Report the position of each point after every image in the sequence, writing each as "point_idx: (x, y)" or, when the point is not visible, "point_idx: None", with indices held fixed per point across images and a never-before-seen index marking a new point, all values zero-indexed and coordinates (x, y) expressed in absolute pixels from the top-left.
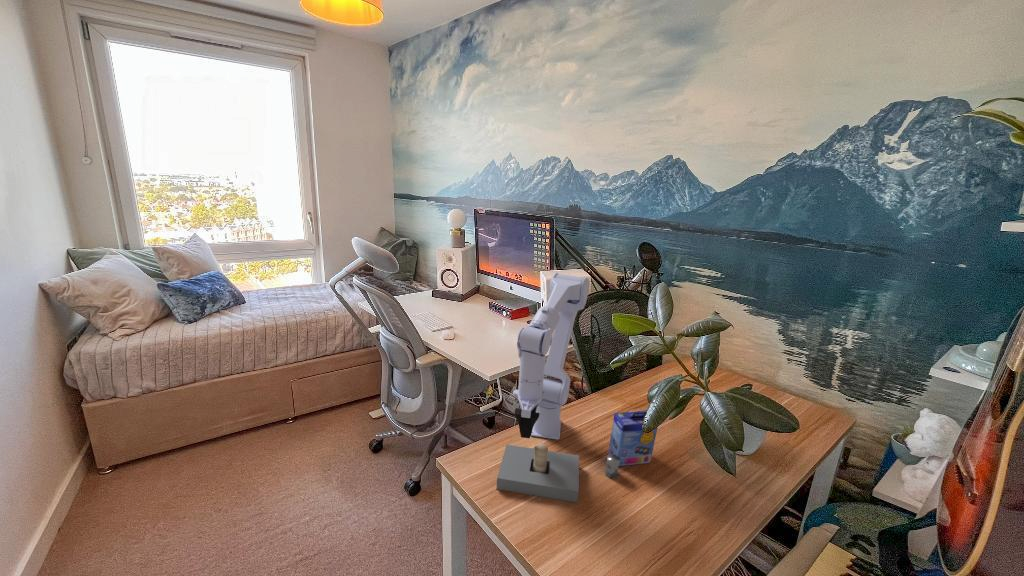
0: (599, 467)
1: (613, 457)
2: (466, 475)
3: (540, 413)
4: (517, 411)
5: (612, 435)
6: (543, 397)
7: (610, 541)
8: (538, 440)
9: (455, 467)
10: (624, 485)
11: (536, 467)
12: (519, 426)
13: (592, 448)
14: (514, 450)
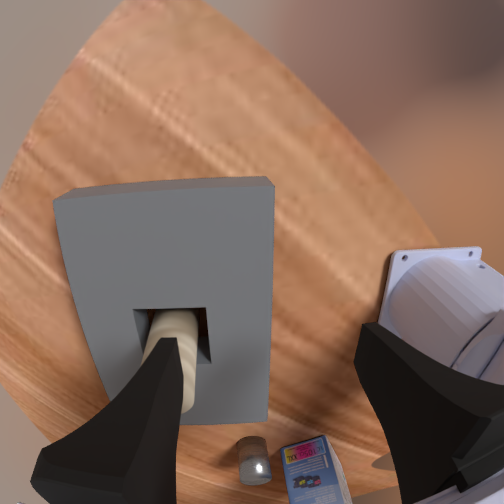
0: (269, 427)
1: (259, 478)
2: (107, 61)
3: (444, 329)
4: (71, 498)
5: (327, 483)
6: (490, 379)
7: (70, 429)
8: (370, 281)
9: (141, 9)
10: (222, 458)
11: (149, 334)
12: (121, 390)
13: (341, 409)
14: (238, 231)
